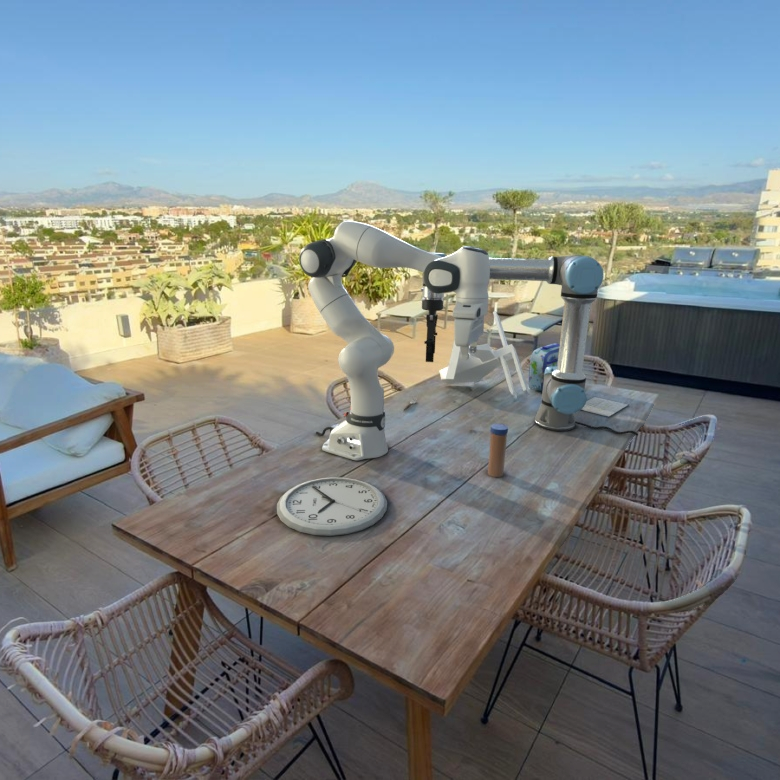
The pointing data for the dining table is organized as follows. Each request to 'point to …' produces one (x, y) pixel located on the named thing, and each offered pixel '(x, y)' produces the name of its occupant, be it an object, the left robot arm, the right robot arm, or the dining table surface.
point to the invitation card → (603, 406)
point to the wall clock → (331, 506)
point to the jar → (497, 455)
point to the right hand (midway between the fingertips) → (430, 357)
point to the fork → (411, 403)
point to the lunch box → (542, 364)
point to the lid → (499, 429)
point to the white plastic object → (483, 363)
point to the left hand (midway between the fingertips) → (468, 356)
